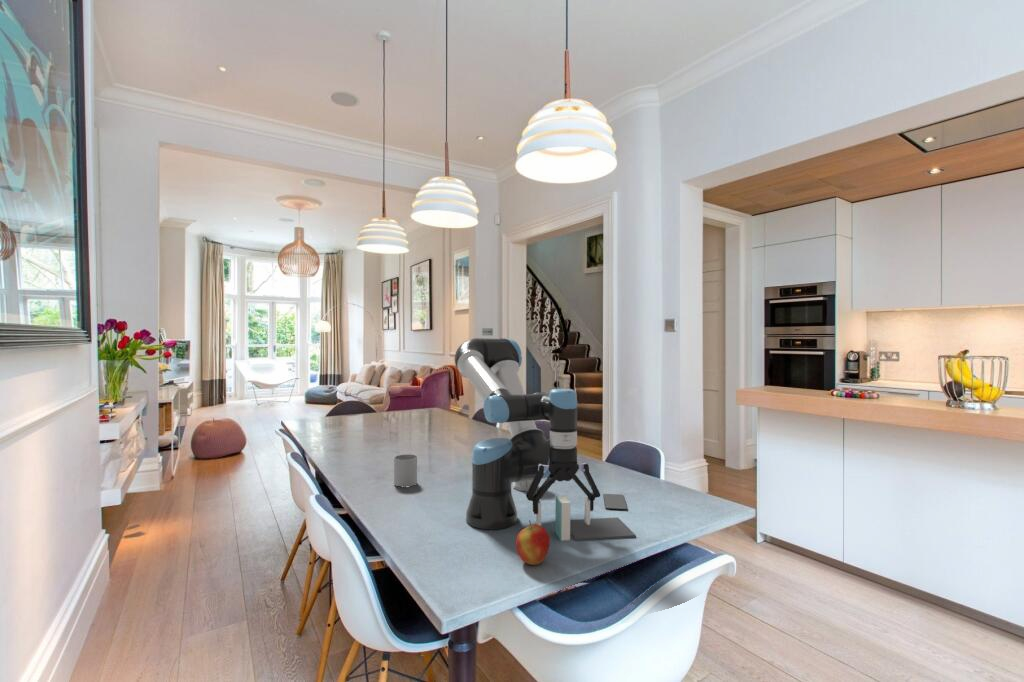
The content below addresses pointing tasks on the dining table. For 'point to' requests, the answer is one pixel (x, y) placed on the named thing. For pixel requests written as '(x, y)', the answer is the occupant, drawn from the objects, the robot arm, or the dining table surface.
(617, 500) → the smartphone
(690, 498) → the dining table surface
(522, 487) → the cup
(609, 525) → the mat
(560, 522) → the teal white block
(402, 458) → the cup
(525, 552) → the apple
